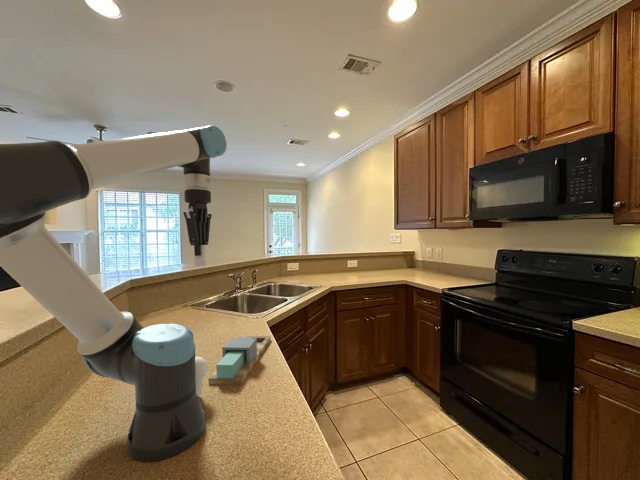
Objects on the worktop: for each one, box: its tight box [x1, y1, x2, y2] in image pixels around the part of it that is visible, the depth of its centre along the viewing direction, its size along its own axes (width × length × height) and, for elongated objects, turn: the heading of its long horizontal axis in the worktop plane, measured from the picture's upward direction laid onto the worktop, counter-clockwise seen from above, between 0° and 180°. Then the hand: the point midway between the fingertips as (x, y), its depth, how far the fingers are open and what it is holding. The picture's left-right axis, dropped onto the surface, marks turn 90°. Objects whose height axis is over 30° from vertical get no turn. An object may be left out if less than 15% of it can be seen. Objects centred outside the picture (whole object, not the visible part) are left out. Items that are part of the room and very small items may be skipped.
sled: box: [215, 336, 253, 378], centre depth 93 cm, size 19×5×5 cm, turn 176°
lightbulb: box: [195, 356, 209, 398], centre depth 77 cm, size 6×6×11 cm
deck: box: [208, 335, 272, 386], centre depth 100 cm, size 34×10×2 cm, turn 176°
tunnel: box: [221, 337, 257, 365], centre depth 96 cm, size 8×9×6 cm
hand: (200, 266), depth 88 cm, fingers closed
